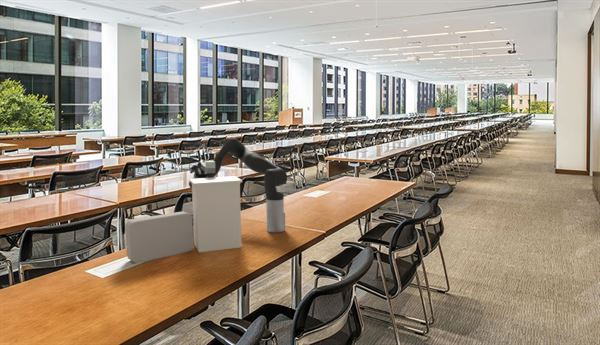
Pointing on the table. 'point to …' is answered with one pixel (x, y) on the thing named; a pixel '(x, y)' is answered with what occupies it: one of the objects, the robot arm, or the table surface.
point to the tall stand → (216, 213)
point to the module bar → (208, 166)
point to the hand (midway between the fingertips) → (204, 163)
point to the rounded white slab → (158, 236)
